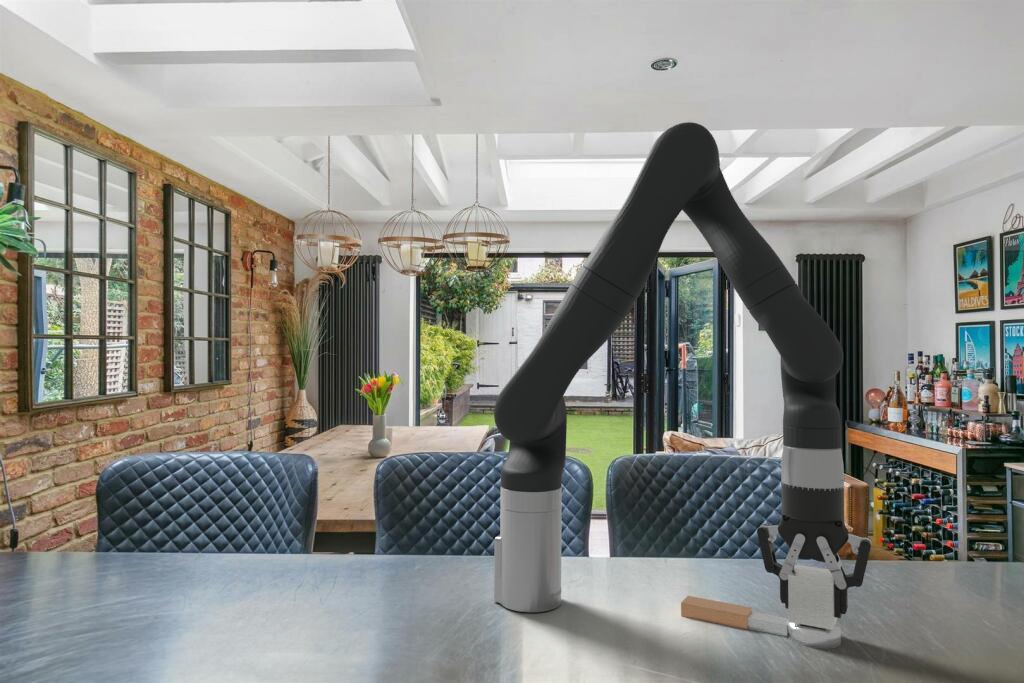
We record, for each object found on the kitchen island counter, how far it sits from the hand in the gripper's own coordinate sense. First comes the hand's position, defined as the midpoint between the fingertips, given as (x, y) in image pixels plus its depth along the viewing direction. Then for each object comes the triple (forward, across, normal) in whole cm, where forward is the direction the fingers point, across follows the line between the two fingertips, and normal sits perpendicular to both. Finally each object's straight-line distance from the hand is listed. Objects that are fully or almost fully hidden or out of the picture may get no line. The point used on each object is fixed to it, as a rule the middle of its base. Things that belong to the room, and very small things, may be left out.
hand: (813, 610), depth 86 cm
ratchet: (+4, -7, 0) cm, 8 cm away
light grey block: (+1, 0, 0) cm, 1 cm away
